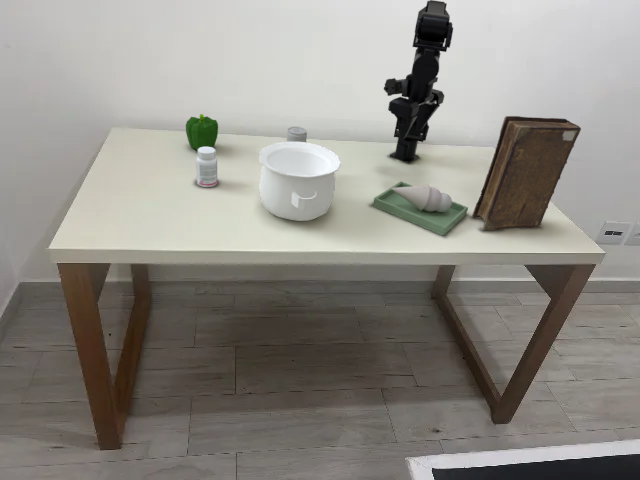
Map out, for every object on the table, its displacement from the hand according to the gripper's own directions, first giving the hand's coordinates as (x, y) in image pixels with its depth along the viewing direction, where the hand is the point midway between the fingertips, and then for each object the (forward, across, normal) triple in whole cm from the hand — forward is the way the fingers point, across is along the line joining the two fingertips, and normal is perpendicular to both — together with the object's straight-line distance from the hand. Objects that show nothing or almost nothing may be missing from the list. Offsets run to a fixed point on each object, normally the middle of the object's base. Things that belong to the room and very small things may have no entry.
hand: (410, 134), depth 126 cm
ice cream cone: (+12, +14, +12) cm, 21 cm away
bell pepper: (+12, +27, -47) cm, 56 cm away
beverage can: (+12, +21, -20) cm, 31 cm away
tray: (+12, +13, +12) cm, 21 cm away
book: (+12, +3, +30) cm, 33 cm away
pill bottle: (+12, +40, -31) cm, 52 cm away
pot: (+12, +34, -9) cm, 37 cm away
